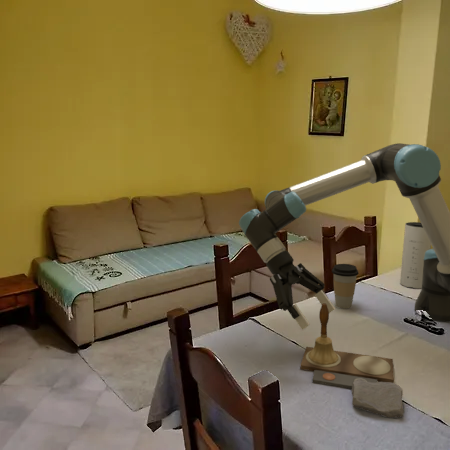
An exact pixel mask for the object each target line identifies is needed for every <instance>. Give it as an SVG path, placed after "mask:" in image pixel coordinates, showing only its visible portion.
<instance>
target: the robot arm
mask: <svg viewBox="0 0 450 450" xmlns="http://www.w3.org/2000/svg"><path fill="white" fill-rule="evenodd" d="M441 164H442V163H441V161H440V157H439V156H438V154H437V153H436V152H435V151H434V149H431V148H430V147H427V146H426V145H425V146H424V145H423V144H419V143H418V144H415V143H414V144H410V143H409V144H408V143H398V142H397V143H393V144H390V145H387V146H384V147H382V148H379V149H377V150H374V151H373V152H370V153H367V154H365V155H363V156H362V157H361V159H360V160H358V161H355V162H352V163H349V164H347V165H344V166H341V167H339V168H336V169H334V170H332V171H329V172H325V173H324V174H320V175H317V176H315V177H312V178H310V179H308V180H304V181H302V182H299V183H297V184H294V185H291V186H289V187H286V188H284V189H279V190H278V189H277V190H271V191H270V192H268V193H267V194H266V196H265V197H264V206H265V209H264V210H263V211H259V209H258V208H254V209H251V210H249V211H247V212H245V213H244V214H242V216H241V217H240V219H239V221H238V226H239V228H240V229H241V230H242V232H243V234H244V236H245V237H246V238H247V240H248V241H249V243H250V244H251V245H252V247H253V248H254V250H255V251H256V252H257V254H258V255H259V257H260V258H261V260H262V261H263V263H265V264H266V267H267V268H268V270H269V272H270V274H272V276H271V277H269V281H270V283H271V284H272V288H273V291H274V293H275V297H276V302H277V306H278V308H279V310H281V311H282V310H283V311H285V312H286V311H288V313H289V315H290V316H291V318H292V319H294V320H295V322H296V323H297V325H298V326H299V327H300V329H301V330H302V331H303V330H304V329H306V328H307V327H309V326H311V324H310V322H309V321H308V319H307V318H306V316H305V315H304V313H303V312H302V310H301V309H300V307H298V305H297V304H296V303H295V304H294V299H293V297H294V296H293V287H292V285H296V284H297V285H301V286H302V287H304V288H306V289H308V290H309V291H311V292H313V293H314V296H315V298H316V299H317V301H319V303H320V305H321V306H322V304H323V303H325V304H327V308H328V311H329V314H330V313H332V312H333V311H335V310H336V306H334V304H333V303H332V302H331V300H330V299H329V296H328V295H327V294H326V293H325V291H324V289H325V283H324V282H323V281H322V280H320V279H319V278H318V277H317V276H316V275H315V274H313V273H312V272H311V271H310V270H308V269H307V268H306V267H305V266H304V265H303V263H301V262H300V263H298V264H297V265H295V264H294V258H293V256H292V255H291V254H290V252H289V250H286V246H285V245H284V244H283V242H282V241H281V240H280V238H279V237H278V236H277V234H276V233H278V232H279V231H281V230H282V229H284V228H285V227H287V226H288V225H290V224H291V223H292V222H294V221H296V220H297V219H299V218H300V217H301V216H302V215H303V214H305V213H306V212H307V207H306V206H308V205H310V204H311V205H312V204H313V203H317V202H319V201H322V200H325V199H327V198H330V197H332V196H335V195H337V194H341V193H343V192H347V191H348V190H352V189H354V188H357V187H359V186H361V185H364V184H367V183H370V184H376V183H379V182H383V181H385V182H386V181H392V182H395V184H396V186H397V188H398V191H399V193H400V194H401V196H402V197H403V198H407V199H409V201H410V203H411V205H412V207H413V209H414V211H415V213H416V215H417V217H418V220H419V222H420V223H421V224H422V226H423V228H424V230H425V232H426V234H427V237H428V239H429V241H430V243H431V247H432V248H431V249H430V250H427V251H426V252H425V256H424V266H423V278H422V289H420V292H419V295H418V296H417V298H416V300H415V302H414V309H413V310H414V312H415V311H416V310H423V311H426V312H427V313H428V314H429V315H430V316H431V318H432V319H433V320H432V321H435V322H436V321H437V322H448V323H449V322H450V209H449V207H448V205H447V203H446V199H444V197H443V194H442V191H441V189H440V187H439V186H440V184H441V182H442V178H441V176H440V171H441V168H442V167H441V166H442V165H441Z"/></svg>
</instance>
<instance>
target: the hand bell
mask: <svg viewBox="0 0 450 450" xmlns="http://www.w3.org/2000/svg"><path fill="white" fill-rule="evenodd" d="M329 318H330V313H329V311H328V308H327V304H325V303H323V304H322V305H321V307H320V309H319V322H320V336H318V337H316V338H315V342H314V346H313V347H312V348H313V350H311V351H310V353H309V355H308V357H309V359H310V360H311V361H313V362H315V363H318V364H323V365H329V364H333V363H336V362H337V361H338V355H337V354H336V353H335V352H334V351H335V350H334V347H333V340H332V339H331V338H330V337H329V336H328V329H327V328H328V323H329Z"/></svg>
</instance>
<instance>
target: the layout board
mask: <svg viewBox="0 0 450 450" xmlns="http://www.w3.org/2000/svg"><path fill="white" fill-rule="evenodd" d="M313 348H314V347H310V346H306V347H305V350H304V353H303V356H302V359H301V362H300V365H299V367H300V368H299V369H300V370H304V371H309V372H310V371H311V372H314V371H315V370H319V371H326V372H332V373H339V374H345V375H351V376H358V377H364V378H370V379H377V382H391V383H394V382H395V381H394V380H395V379H394V378H395V377H394V374H395V373H394V358H389V357H383V356H382V357H381V356H375V355H367V354H362V353H361V354H360V353H354V352H353V353H352V352H346V351H340V350H339V351H338V350H334V352H335V353H336V354H337V355H338V361H337V362H336V363H333V364H329V365H323V364H318V363H315V362H313V361H311V360H310V359H309V357H308V355H309V353H310V351H311V350H313ZM394 384H395V383H394Z"/></svg>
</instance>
